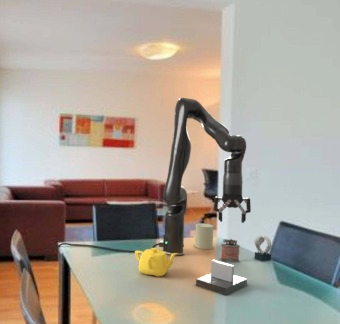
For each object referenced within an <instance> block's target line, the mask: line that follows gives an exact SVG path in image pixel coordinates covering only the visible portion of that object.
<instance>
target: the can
mask: <svg viewBox="0 0 340 324" xmlns="http://www.w3.org/2000/svg"><path fill="white" fill-rule="evenodd" d="M214 227H215V226H214V225H213V224H210V223H196V224H195V236H194V237H195V238H194V248H197V249H200V250H213V248H214Z"/></svg>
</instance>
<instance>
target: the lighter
mask: <svg viewBox="0 0 340 324" xmlns="http://www.w3.org/2000/svg"><path fill="white" fill-rule="evenodd" d="M220 246H221V252H220V253H221V254H220V255H221V256H220V262H227V263H239V262H240V244H238V240H236V239H232V238H229V239H227V238H224V239H223V240H222V243H220Z"/></svg>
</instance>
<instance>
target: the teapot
mask: <svg viewBox="0 0 340 324" xmlns="http://www.w3.org/2000/svg"><path fill="white" fill-rule="evenodd" d="M134 251H135V252H134V255H135V256H134V257H135V258H136V260H137V261H138V270H139V272H140V273H142V274H143V275H147V276H149V275H150V276H151V275H152V276H155V277H157V278H159V277H160V278H161V277H163V276H165V274H166V273H167V272H168V270H169V269H170V268H171V267H172V265H173V263H174V257H176V256H175V255H176V254H178V253H173V254H171V255H169V256H170V257H169V258H168V254H166V252H165V251H163V250H161V249H160V248H157V247H154V248H152V247H151V248H146V249H145V250H143V252H142V250H134ZM139 254H141V255H139Z"/></svg>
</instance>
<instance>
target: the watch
mask: <svg viewBox="0 0 340 324" xmlns="http://www.w3.org/2000/svg"><path fill="white" fill-rule="evenodd" d="M265 241H266V243H267V244H266V247H265V249H264V250H262V248H261V246H262V244H264V242H265ZM253 242H254V246H255V249H256V250H257V251H255V252H254V259H255V260H257V261H260V262H266V261H267V262H268V261H272V253H270V251H271V249H272V241H271V239H270V237H268V236H266V235H258V236H257V237H255V239H254V241H253Z"/></svg>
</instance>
